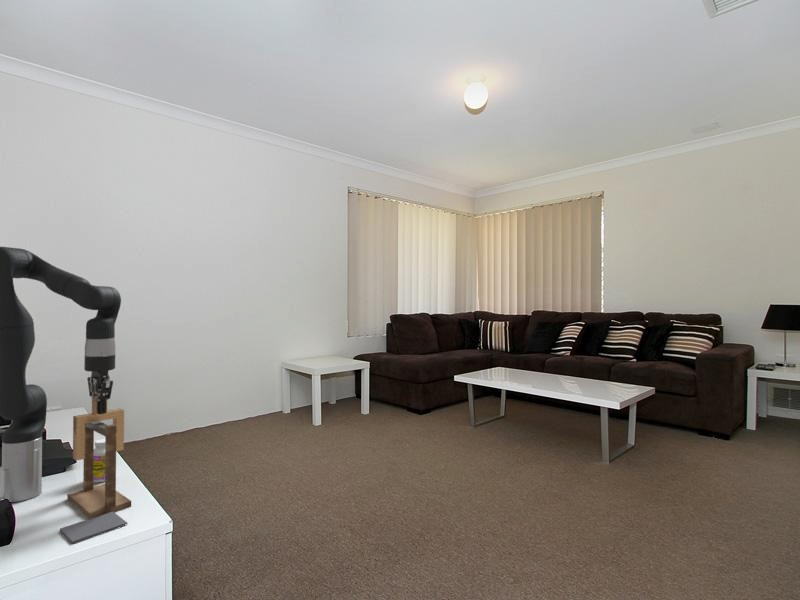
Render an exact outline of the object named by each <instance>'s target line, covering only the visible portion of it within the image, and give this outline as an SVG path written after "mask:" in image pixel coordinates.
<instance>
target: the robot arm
mask: <svg viewBox="0 0 800 600" xmlns="http://www.w3.org/2000/svg"><path fill="white" fill-rule="evenodd" d="M14 279H29V280H34V281H37V282H40V283H43V284H44V285H45V287H46V288H47V289H49V290H50V291H51V292H53V293H55V294H57V295H59V296H62V297H64V298H66V299H69V300H72V302H74V303H75V304H77V305H78V306H80V307H81V308H84V309H87V310H89V311H90V310H91V311H97V312H96V316H95V317H94V318H91V319H88V320H87V321H86V324H85V342H84V371H85V372H91V374H90V376H88V377H87V378H86V379H87V384H88V392H89V397H91V399H92V396H96V395H97V414H105V413H106V409H107V410H108V400H110V399H111V396H112V395H111V394H112V390H113V385H114V381H113V380H111V377H110V375H109V372H110V371H113V370H114V369H116V339H115V337H116V336H115V335H116V334H115V333H116V332H115V331H116V330H115V324H116V321H117V318H118V317H119V316H118V315H119V312H120V309H121V304H122V298H121V293H120V292H119V291H118V289H117V288H116V287H113V286H104V285H103V286H102V285H93V284H91V283H90V282H89V280H87V279H86V278H84V277H81V276H79V275H77V274H74V273H71V272H69V271H66V270H63V269H61V268H59V267H57V266H55V265H53V264H51V263H49V262H48V261H46V260H44V259H43V258H42V257H39V256H38V255H36V254H35V253H33V252H31V251H29V250H27V249H24V248H19V247H17V248H16V247H7V246H0V417H1V418H3V419H4V420H8V421H11V422H10V425H9V426H8V427H7V428H6V429H5V430H4V431H3V433H2V436H1V437H2V438H1V446H2V447H1V466H0V500H1V499H9V500H10V501H11V503H17V502H22V501H23V502H24V501H27V500H31V499H33V498H36V497H38V496H39V495H40V494H42V487H43V483H42V481H43V480H42V479H43V474H42V473H43V472H42V471H43V470H42V469H43V467H42V465H43V457H42V456H43V431H44V428H45V427H46V421H47V409H48V408H47V406H48V405H47V404H48V402H47V401H48V399H47V398H48V397H47V394H46V392H45V390H44V389H43V388H42V387H41V386H40V385H36V384H31V383H30V384H27V379H26V373H27V372H26V370H27V365H28V363H29V360H30V357H31V356H32V352H33V349H34V346H35V343H36V336H35V335H36V334H35V323H34V319H33V317H32V315H31V313H29V311H28V310H27V308H26V307H25V306H24V304H23V303H22V302H21V300H20V299H19V297H18V295H17V293H16V290H15V285H14ZM103 394H104V395H103ZM106 400H107V401H106Z"/></svg>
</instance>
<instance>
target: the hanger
mask: <svg viewBox="0 0 800 600" xmlns="http://www.w3.org/2000/svg"><path fill="white" fill-rule="evenodd" d="M103 395H105V394H103ZM91 397H92V398H91V413H90V412H89V413H85V414H77V415H73V417H72V418H73V419H72V425H73V426H72V459H73V460H74V461H76V462H77V461H81V460H84V459H85V423H91V422H96V421H100V422H101V421H106V420H112V425H113V424H114V425H116V453H117V452H121V451H124V450H125V448H124V447H125V441H124V440H125V439H124V438H125V410H124V409H123V408H116V409H109V410H108V408H107V409H106V413H105V414H97V395H96V396H91ZM106 401H107V402H108V400H106Z"/></svg>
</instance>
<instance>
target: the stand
mask: <svg viewBox="0 0 800 600" xmlns="http://www.w3.org/2000/svg"><path fill="white" fill-rule="evenodd" d="M94 432H96V433H98V434H99V435H101V436H104V437H105V438H104V439H105V482H104V483H103V484H100V485H94V482H93V464H94V449H95V448H94V447H95V441H94V440H95V439H94V438H95V436H94V435H95V434H94ZM82 474H83V484H82V487H83V488H82V490H78V491H74V492H71V493H70V492H69V493H67V500H68V501H69V502H70V503H71V504H72V505H74V507H76V508H77V509H78V510H79V511H80V512H81V513H83V514H84V515H85V516H86V517H87V518H88V519H91V518H94V517H97V516H101V515H104V514H107V513H110V512H114V513H116V512H118V511H120V510H121V511H122V510H124V509H126V508H130V507H132V500H130V499H129V498H128V497H126V496H125V495H123V494H122V493H120V492H119V491H117V479H116V478H117V452H116V425H114V424H113V423H112V424H106V423H104V422H101V421H96V422H91V423H85V459H83V473H82Z"/></svg>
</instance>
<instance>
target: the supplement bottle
mask: <svg viewBox="0 0 800 600" xmlns="http://www.w3.org/2000/svg"><path fill="white" fill-rule="evenodd" d="M94 447H95V448H94V464H93V484H94V483H95V484H96V483H97V484H98V483H105V438H101V439H97V440H95V441H94Z"/></svg>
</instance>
